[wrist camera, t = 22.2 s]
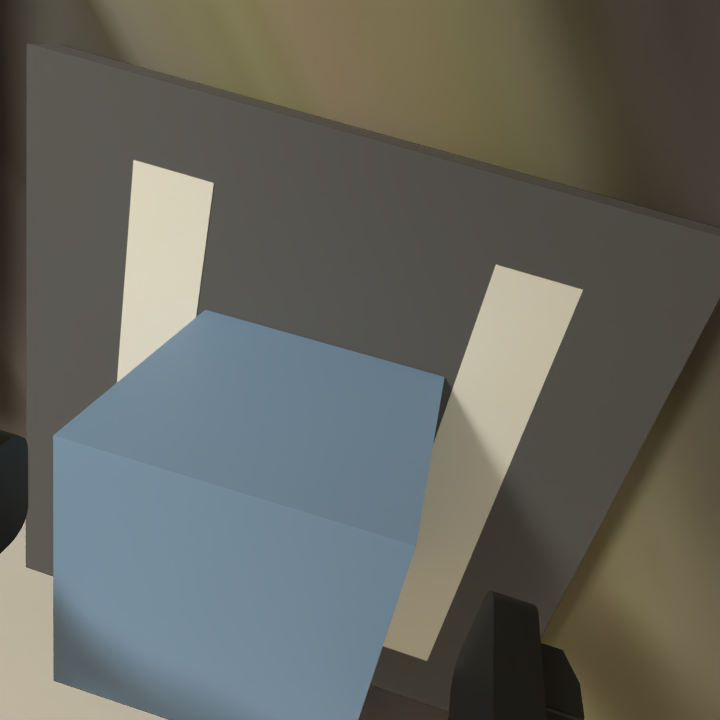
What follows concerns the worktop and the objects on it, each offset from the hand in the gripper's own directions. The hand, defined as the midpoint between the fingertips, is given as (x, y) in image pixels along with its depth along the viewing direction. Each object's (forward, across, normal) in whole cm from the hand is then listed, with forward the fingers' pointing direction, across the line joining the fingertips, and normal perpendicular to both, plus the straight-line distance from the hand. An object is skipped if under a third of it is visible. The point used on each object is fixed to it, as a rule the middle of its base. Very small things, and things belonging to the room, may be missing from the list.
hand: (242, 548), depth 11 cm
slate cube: (+4, 0, 0) cm, 4 cm away
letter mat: (+5, 0, 0) cm, 5 cm away
